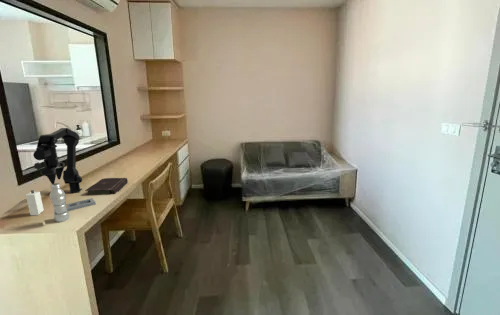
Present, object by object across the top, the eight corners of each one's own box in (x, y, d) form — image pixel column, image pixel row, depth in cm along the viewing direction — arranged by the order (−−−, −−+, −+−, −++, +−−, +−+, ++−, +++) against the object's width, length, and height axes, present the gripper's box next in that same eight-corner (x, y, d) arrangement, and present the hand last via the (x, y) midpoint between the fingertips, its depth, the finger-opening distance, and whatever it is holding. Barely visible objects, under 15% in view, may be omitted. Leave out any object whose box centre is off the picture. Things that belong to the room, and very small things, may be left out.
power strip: (63, 214, 149) (62, 209, 148) (61, 209, 154) (60, 204, 154) (96, 205, 159) (95, 201, 158) (92, 202, 165) (92, 197, 164)
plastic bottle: (59, 225, 136) (51, 187, 131) (52, 222, 139) (44, 185, 134) (72, 220, 142) (65, 183, 137) (65, 217, 145) (58, 181, 140)
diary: (128, 183, 199) (127, 177, 198) (115, 196, 175) (114, 189, 173) (101, 184, 197) (100, 178, 196) (84, 197, 173) (83, 190, 172)
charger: (30, 215, 148) (25, 191, 145) (36, 212, 152) (30, 189, 149) (38, 215, 148) (33, 191, 145) (44, 212, 152) (39, 188, 149)
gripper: (42, 153, 165) (47, 178, 169) (27, 161, 148) (33, 188, 152) (63, 152, 168) (67, 176, 172) (50, 159, 151) (56, 186, 155)
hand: (56, 181), depth 162 cm, fingers open, 9 cm apart
